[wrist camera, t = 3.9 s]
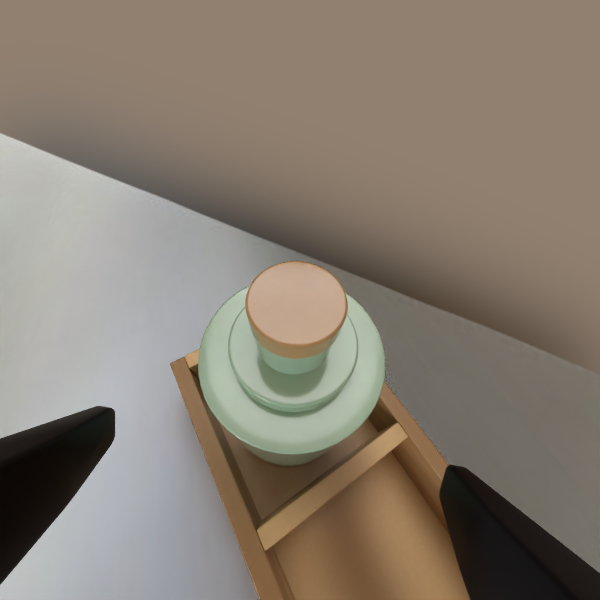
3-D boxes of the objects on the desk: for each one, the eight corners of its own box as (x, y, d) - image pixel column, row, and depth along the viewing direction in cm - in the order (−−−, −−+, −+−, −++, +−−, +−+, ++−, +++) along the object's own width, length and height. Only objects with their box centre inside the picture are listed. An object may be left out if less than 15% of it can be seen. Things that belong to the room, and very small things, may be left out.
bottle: (267, 494, 15) (231, 522, 4) (221, 391, 18) (132, 261, 7) (359, 427, 17) (481, 340, 7) (304, 345, 20) (328, 192, 9)
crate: (363, 815, 10) (402, 978, 7) (190, 384, 18) (169, 363, 15) (518, 611, 13) (596, 654, 10) (310, 321, 21) (315, 291, 18)
